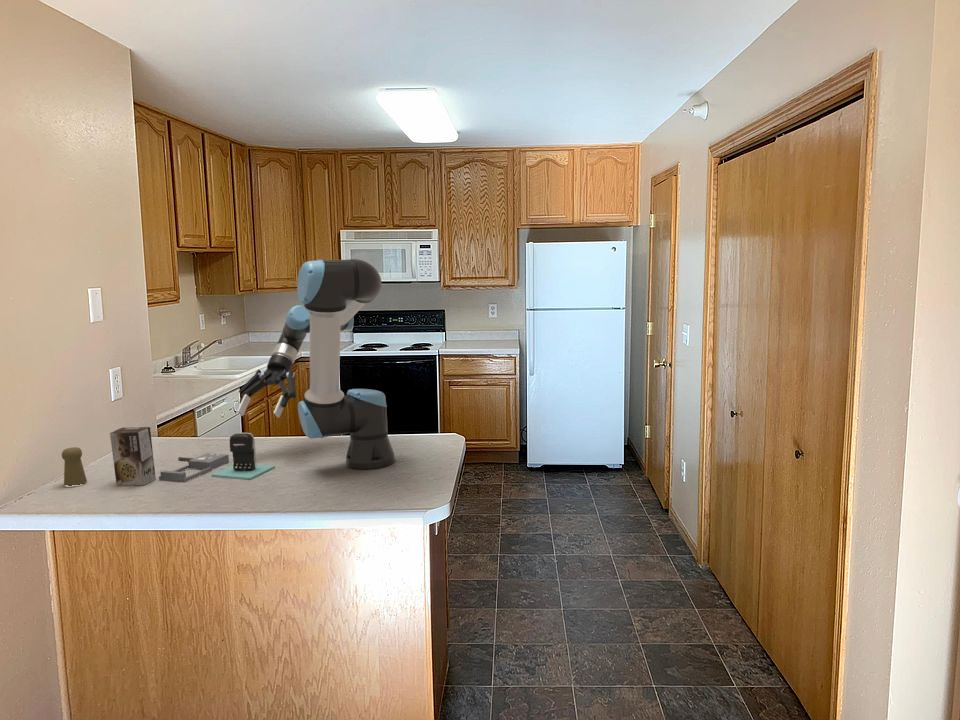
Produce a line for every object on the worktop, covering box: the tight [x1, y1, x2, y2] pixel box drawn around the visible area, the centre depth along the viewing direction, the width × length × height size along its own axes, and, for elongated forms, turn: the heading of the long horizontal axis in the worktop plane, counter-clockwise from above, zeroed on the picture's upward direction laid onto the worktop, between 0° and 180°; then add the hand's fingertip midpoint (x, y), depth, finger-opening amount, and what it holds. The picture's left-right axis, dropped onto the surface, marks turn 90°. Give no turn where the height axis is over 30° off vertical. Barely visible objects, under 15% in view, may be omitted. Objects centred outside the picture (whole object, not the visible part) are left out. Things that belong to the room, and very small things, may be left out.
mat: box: [211, 464, 276, 481], centre depth 211 cm, size 14×12×1 cm
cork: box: [61, 446, 88, 486], centre depth 204 cm, size 6×6×11 cm
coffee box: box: [109, 426, 157, 486], centre depth 203 cm, size 9×6×16 cm
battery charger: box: [229, 432, 257, 471], centre depth 210 cm, size 7×4×11 cm, turn 83°
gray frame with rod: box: [158, 452, 230, 483], centre depth 215 cm, size 19×20×3 cm
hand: (257, 414), depth 216 cm, fingers open, 13 cm apart
